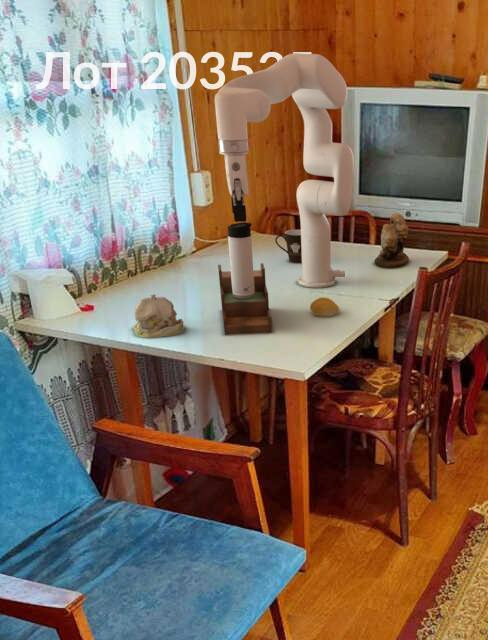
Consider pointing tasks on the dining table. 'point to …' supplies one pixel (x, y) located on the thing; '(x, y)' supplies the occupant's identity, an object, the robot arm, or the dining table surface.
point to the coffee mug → (292, 245)
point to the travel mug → (241, 260)
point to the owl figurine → (393, 243)
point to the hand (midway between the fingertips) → (239, 217)
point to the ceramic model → (156, 318)
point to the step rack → (245, 306)
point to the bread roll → (324, 307)
